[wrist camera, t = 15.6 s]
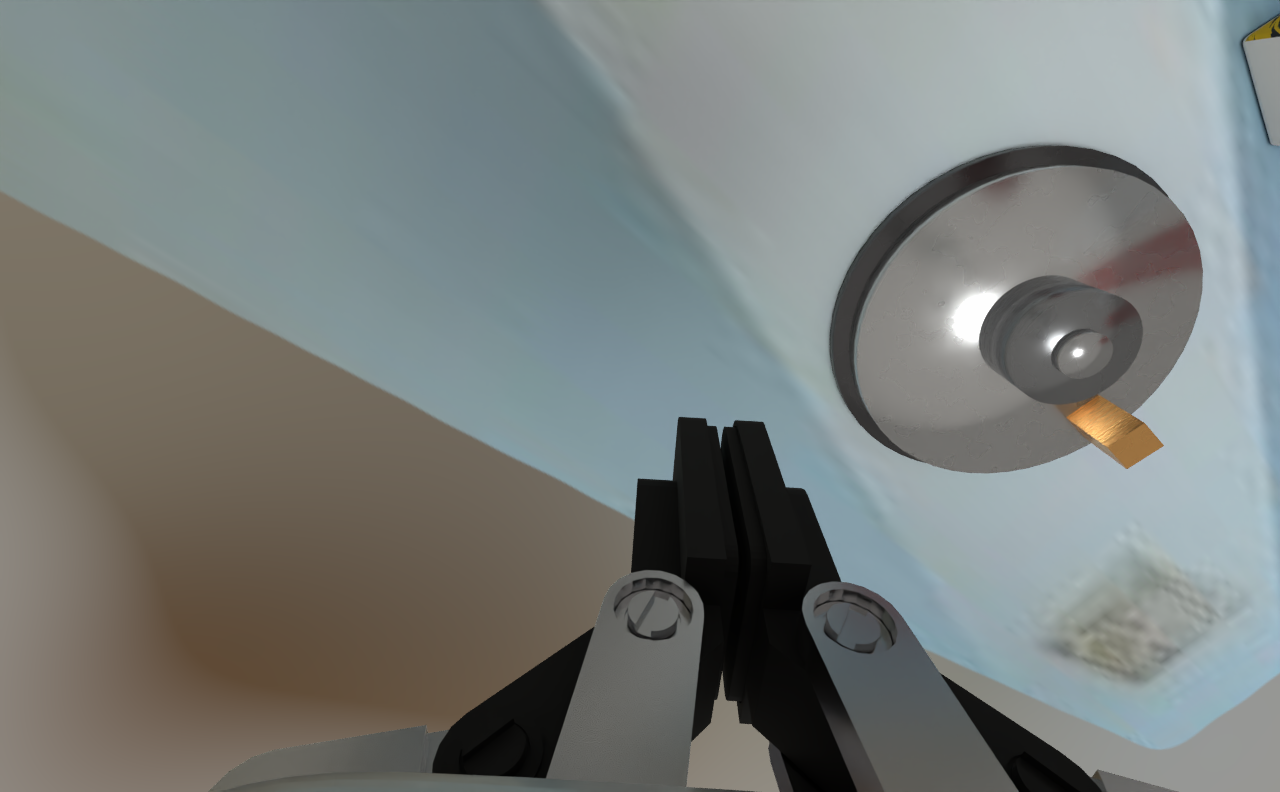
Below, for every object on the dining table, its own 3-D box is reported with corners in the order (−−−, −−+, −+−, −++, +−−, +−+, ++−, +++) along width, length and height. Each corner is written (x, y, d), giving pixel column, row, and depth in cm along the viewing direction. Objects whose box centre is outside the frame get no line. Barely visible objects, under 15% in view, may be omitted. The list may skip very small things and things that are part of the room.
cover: (957, 331, 36) (996, 359, 32) (1057, 251, 34) (1114, 270, 29) (1016, 397, 38) (1061, 431, 34) (1115, 326, 36) (1177, 353, 31)
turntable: (786, 339, 39) (806, 373, 34) (1064, 82, 31) (1146, 73, 26) (963, 504, 44) (1005, 556, 39) (1235, 318, 37) (1332, 351, 32)
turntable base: (870, 135, 34) (875, 135, 33) (1245, 155, 34) (1261, 156, 33) (803, 451, 44) (806, 458, 43) (1092, 468, 44) (1101, 476, 43)
